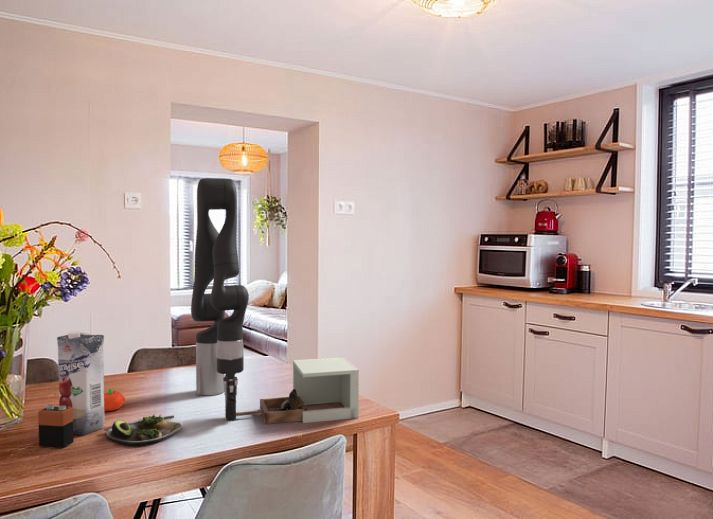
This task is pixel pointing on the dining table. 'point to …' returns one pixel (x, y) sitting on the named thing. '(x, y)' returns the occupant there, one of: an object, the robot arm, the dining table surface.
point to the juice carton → (82, 379)
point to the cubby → (327, 387)
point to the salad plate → (142, 431)
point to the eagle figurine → (291, 402)
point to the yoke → (276, 415)
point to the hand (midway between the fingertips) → (230, 414)
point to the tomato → (113, 400)
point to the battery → (55, 426)
